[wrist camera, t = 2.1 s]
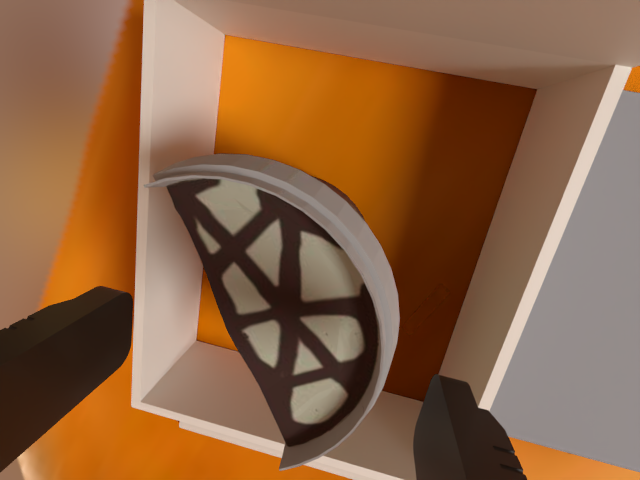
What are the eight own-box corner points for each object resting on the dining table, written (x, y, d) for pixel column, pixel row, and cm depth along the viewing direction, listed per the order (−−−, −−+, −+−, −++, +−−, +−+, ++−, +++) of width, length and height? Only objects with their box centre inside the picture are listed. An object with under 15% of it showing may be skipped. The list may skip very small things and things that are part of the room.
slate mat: (910, 141, 15) (923, 141, 15) (683, 479, 21) (688, 485, 21) (573, 83, 17) (578, 82, 16) (449, 415, 23) (450, 420, 22)
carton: (551, 80, 17) (1472, -235, 3) (405, 489, 25) (439, 954, 11) (217, 22, 19) (-315, -355, 4) (182, 423, 27) (-45, 747, 12)
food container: (419, 315, 21) (450, 457, 12) (324, 338, 23) (284, 482, 13) (351, 112, 19) (321, 86, 9) (250, 154, 20) (135, 168, 11)
